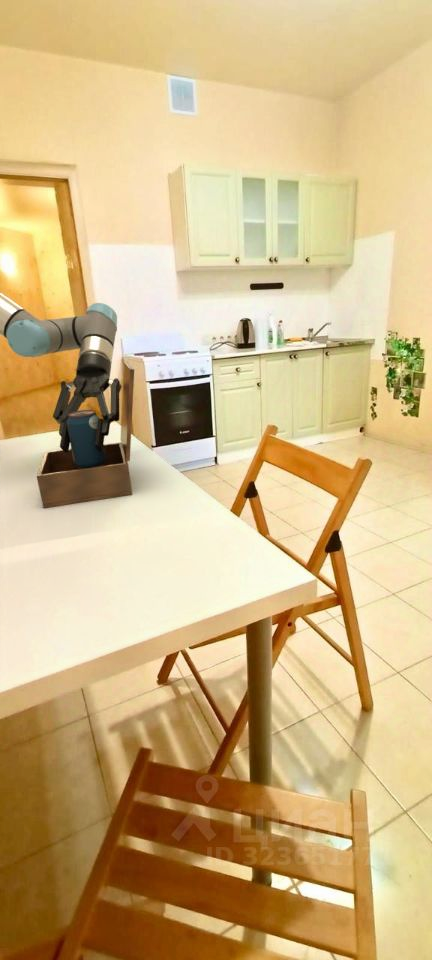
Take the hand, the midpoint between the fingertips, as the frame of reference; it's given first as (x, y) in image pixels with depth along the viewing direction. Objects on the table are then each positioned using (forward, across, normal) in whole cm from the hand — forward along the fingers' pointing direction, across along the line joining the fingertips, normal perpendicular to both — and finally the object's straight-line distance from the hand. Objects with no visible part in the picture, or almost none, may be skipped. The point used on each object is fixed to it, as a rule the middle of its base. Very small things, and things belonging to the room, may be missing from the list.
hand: (81, 448), depth 95 cm
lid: (-8, -9, +2) cm, 13 cm away
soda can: (+1, 0, -6) cm, 6 cm away
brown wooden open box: (+6, 0, -7) cm, 9 cm away
